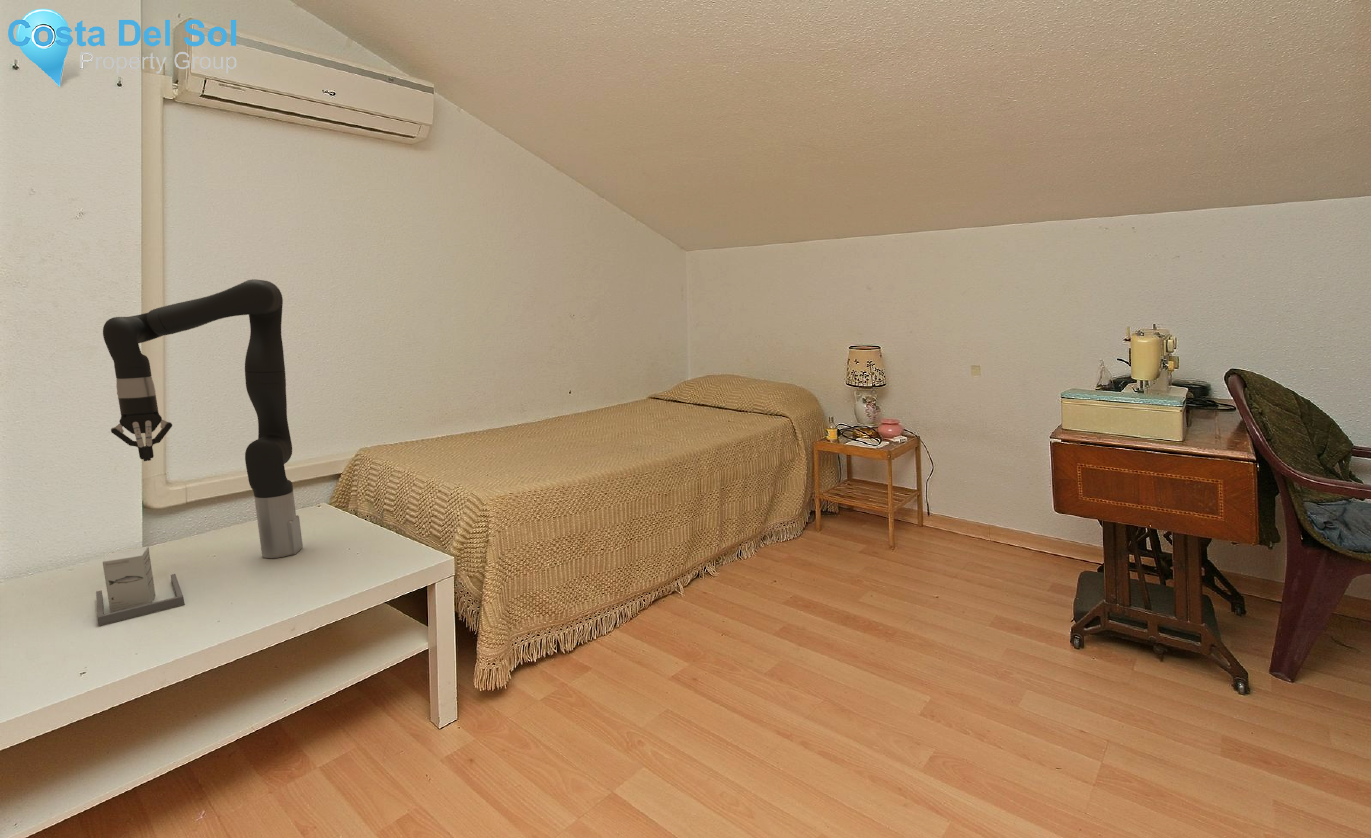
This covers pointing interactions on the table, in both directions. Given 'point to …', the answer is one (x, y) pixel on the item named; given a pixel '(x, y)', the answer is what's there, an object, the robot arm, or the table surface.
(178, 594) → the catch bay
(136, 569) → the supplement box
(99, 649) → the table surface
